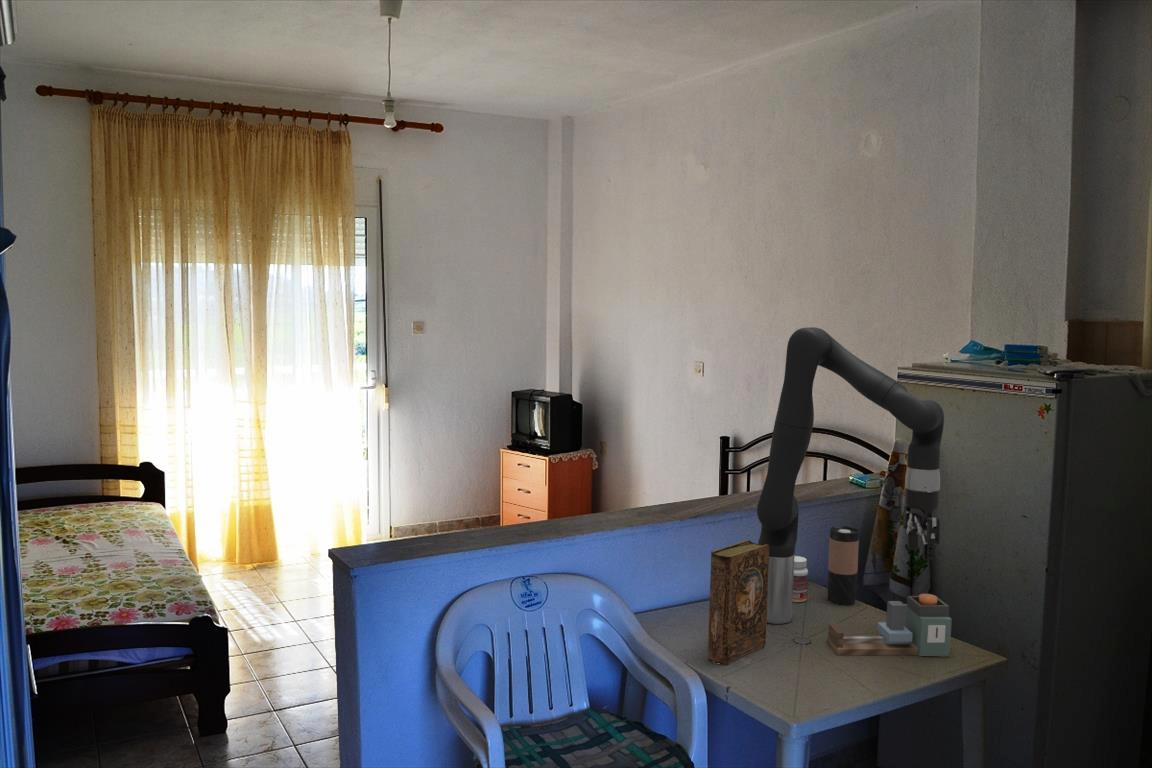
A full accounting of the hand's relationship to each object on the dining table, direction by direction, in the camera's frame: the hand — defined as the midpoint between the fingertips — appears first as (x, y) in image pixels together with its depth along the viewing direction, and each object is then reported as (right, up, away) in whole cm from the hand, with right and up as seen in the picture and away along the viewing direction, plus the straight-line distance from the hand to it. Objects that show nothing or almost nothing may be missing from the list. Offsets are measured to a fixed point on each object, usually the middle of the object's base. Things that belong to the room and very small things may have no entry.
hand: (920, 554), depth 213 cm
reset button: (+3, -12, +2) cm, 13 cm away
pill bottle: (-21, -19, +36) cm, 45 cm away
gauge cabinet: (+2, -23, +3) cm, 23 cm away
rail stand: (-11, -23, +2) cm, 25 cm away
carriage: (-5, -21, +3) cm, 22 cm away
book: (-43, -23, -1) cm, 49 cm away
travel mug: (-8, -19, +34) cm, 40 cm away
